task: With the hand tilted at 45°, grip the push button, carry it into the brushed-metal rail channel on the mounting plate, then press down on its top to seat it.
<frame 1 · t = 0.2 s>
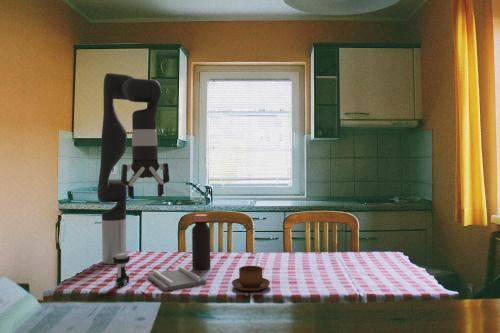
hand: (146, 197, 121), 29 cm above the table, tool pointing down, fingers open, 8 cm apart
rail plate: (176, 280, 132), on the table
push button: (120, 286, 127), on the table
cup and saucer: (250, 288, 124), on the table
bottle: (201, 268, 148), on the table
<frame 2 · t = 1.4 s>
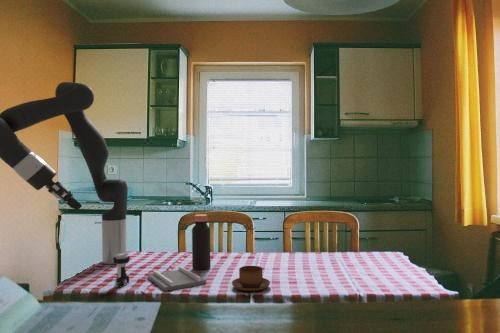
hand: (77, 207, 122), 26 cm above the table, tool tilted 45°, fingers open, 8 cm apart
nothing on the table moved.
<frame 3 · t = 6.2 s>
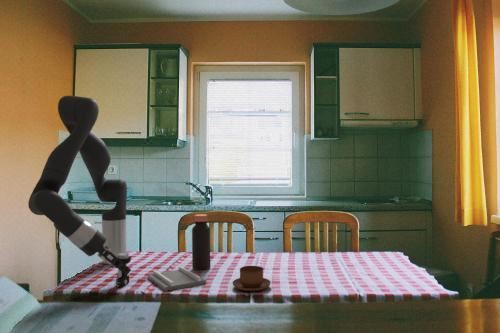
hand: (126, 270, 128), 5 cm above the table, tool tilted 45°, fingers closed on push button, 4 cm apart
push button: (120, 286, 127), on the table, touching gripper
everything else where it was.
when the fingers open (7 cm above the table, at t = 12.1 s): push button drops 1 cm, resting on rail plate.
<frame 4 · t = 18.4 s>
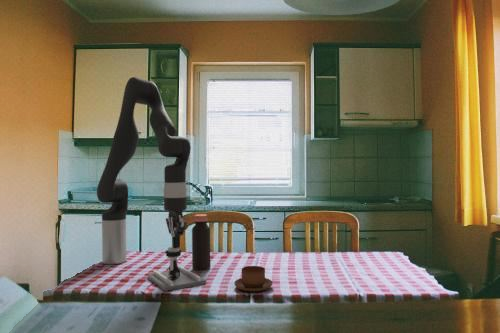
hand: (176, 247, 132), 11 cm above the table, tool pointing down, fingers closed
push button: (172, 279, 131), point 1 cm above the table, touching gripper, rail plate
everything else where it was.
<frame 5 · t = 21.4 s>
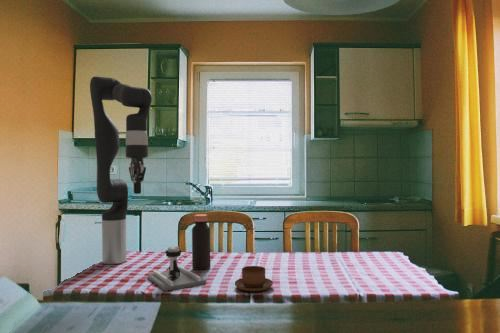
hand: (137, 193, 138), 29 cm above the table, tool pointing down, fingers closed
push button: (172, 278, 131), point 1 cm above the table, touching rail plate
everything else where it was.
at the end: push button inside the target area on the rail plate (1.5 cm from its centre), point 1.0 cm above the rail plate's base; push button tilted 0°; the gripper is holding nothing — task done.
